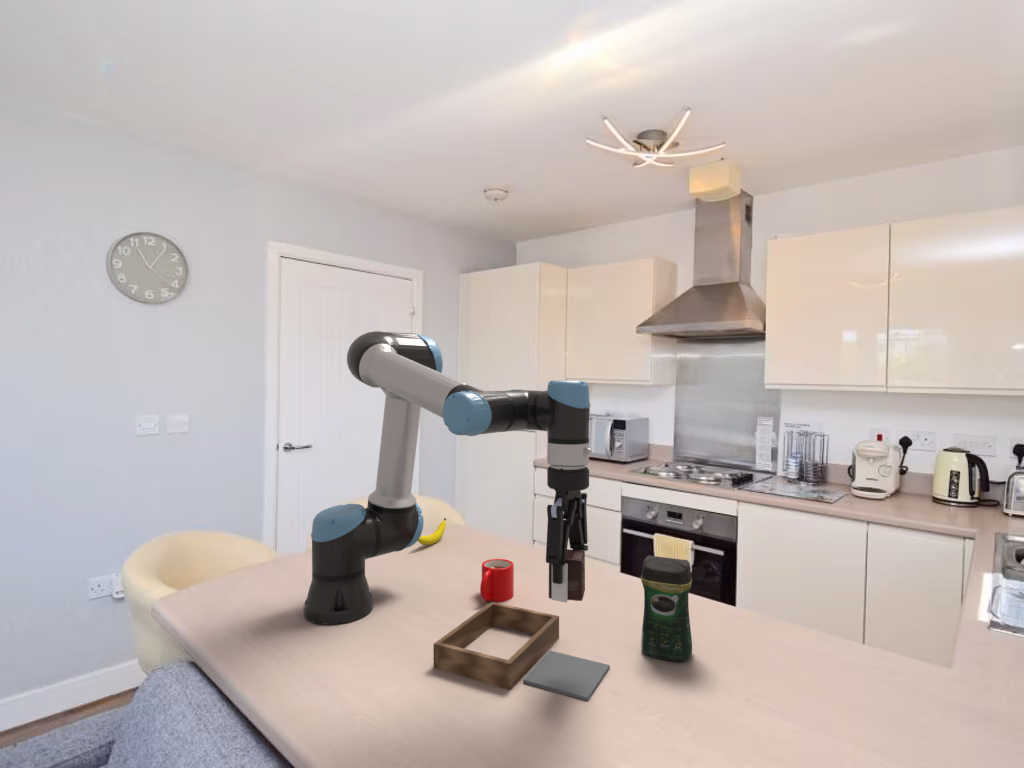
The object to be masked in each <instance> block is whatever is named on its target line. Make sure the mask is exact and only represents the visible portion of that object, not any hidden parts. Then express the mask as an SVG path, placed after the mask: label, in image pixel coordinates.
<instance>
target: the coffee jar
mask: <svg viewBox="0 0 1024 768" xmlns="http://www.w3.org/2000/svg"><path fill="white" fill-rule="evenodd" d="M692 577H693V576H692V570H691V564H690V561H689V560H688V559H679V558H671V557H665V556H655V555H647V556H646V557H645V559H644V560H643V563H642V568H641V576H640V579H641V584H642V588H643V591H644V592H643V593H644V598H643V599H644V603H643V604H644V605H643V616H642V617H643V618H642V628H641V637H640V638H641V640H640V642H641V643H640V645H641V646H640V648H641V651H642V652H643V653H644V654H645V655H647V656H648V657H652V658H656V659H658V660H665V661H666V660H667V661H672V662H680V663H682V662H685V661H687V660H689V659H690V658H691V656H692V654H693V638H692V629H691V622H690V611H689V609H690V608H689V607H690V606H689V593H690V590H691V588H692V584H693V578H692Z"/></svg>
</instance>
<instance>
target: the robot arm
mask: <svg viewBox="0 0 1024 768" xmlns="http://www.w3.org/2000/svg"><path fill="white" fill-rule="evenodd" d="M443 362H444V361H443V355H442V352H441V348H440V347H439V346H438V344H437V342H436V341H435V340H434V339H433V338H431V337H430V336H427V335H424V334H419V333H413V332H412V333H411V332H410V333H409V332H391V331H390V332H389V331H388V332H387V331H378V330H377V331H369V332H366V333H363V334H361V335H360V336H358V337H357V338H355V340H353V342H352V343H351V344H350V345H349V348H348V351H347V354H346V364H347V367H348V370H349V371H350V374H351V375H352V376H353V377H354V378H355V379H356V380H358V381H359V382H361V383H363V384H364V385H366V386H369V387H371V388H374V389H375V388H377V389H379V388H380V390H381V391H382V392H383V394H385V395H384V396H385V401H384V407H383V408H384V410H383V416H382V417H383V418H382V426H381V427H382V428H381V436H380V437H381V438H380V446H379V456H378V462H377V463H378V465H377V473H376V474H377V475H376V483H375V490H374V491H373V492H371V493H370V494H369V495H368V497H367V506H366V508H365V506H364V505H362V504H358V503H346V504H338V505H334V506H331V507H328V508H324V509H323V510H321V511H319V512H318V513H317V514H316V515H315V516H314V518H313V520H312V526H311V533H310V534H311V535H310V537H311V577H312V578H311V582H310V585H309V588H308V591H307V596H306V599H305V601H304V604H303V616H304V618H305V619H306V620H307V621H309V622H311V623H315V624H320V625H337V624H340V625H341V624H344V623H349V622H354V621H356V620H360V619H362V618H363V617H366V616H367V615H369V614H370V613H371V612H372V611H373V608H374V607H373V606H374V603H373V602H374V600H373V599H374V598H373V594H372V592H371V591H370V587H369V582H368V579H367V577H366V560H368V559H371V558H375V557H379V556H382V555H383V556H384V555H386V554H391V553H393V552H394V553H395V552H396V553H397V552H401V551H403V550H405V549H407V548H411V547H412V546H413V545H415V544H416V543H417V542H418V539H419V538H420V536H422V533H423V529H424V523H425V522H424V521H425V520H424V515H422V513H423V510H422V508H421V507H420V505H419V504H418V503H417V498H416V497H415V495H414V494H412V487H413V479H414V478H413V477H414V471H415V469H414V468H415V463H416V462H415V461H416V452H417V443H418V436H419V427H420V418H421V411H422V409H424V410H426V411H428V412H430V413H432V414H434V415H436V416H438V417H440V418H441V419H442V420H443V423H444V426H446V427H447V428H448V431H449V433H452V434H453V435H456V436H466V437H475V436H478V435H479V436H480V435H486V434H487V435H488V434H495V433H504V432H505V433H506V432H515V431H516V432H517V431H525V430H526V431H540V432H541V431H542V432H547V435H546V436H547V443H546V444H547V445H546V447H547V448H546V451H547V452H546V454H547V455H546V463H547V464H548V465H549V466H548V468H547V469H546V470H547V471H546V473H547V477H546V478H547V479H546V481H547V484H546V485H547V487H548V488H549V489H551V490H554V491H555V493H554V500H553V504H547V507H546V511H547V512H546V513H547V529H546V530H547V532H546V549H545V563H546V564H549V563H551V564H552V599H551V600H552V601H556V602H562V603H567V602H568V601H569V600H568V564H566V563H565V561H566V553H567V549H568V545H569V548H570V550H584V551H585V552H587V551H588V550H589V545H588V542H589V540H588V521H587V520H588V516H587V512H588V511H587V503H588V502H587V501H588V500H587V498H588V494H587V492H581V491H584V490H587V489H589V487H590V468H589V467H588V465H590V464H589V463H590V455H592V449H591V448H590V414H591V413H590V411H591V410H590V408H591V402H590V389H589V384H588V383H587V382H586V381H584V380H549V381H548V384H547V389H546V390H528V389H520V388H519V389H510V390H509V389H508V390H482V389H479V388H476V387H474V386H472V385H469V384H468V383H465V382H464V381H461V380H458V379H456V378H453V377H451V376H449V375H447V374H444V373H443V367H444V365H443Z"/></svg>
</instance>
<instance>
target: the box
mask: <svg viewBox="0 0 1024 768" xmlns="http://www.w3.org/2000/svg"><path fill="white" fill-rule="evenodd" d="M585 554H586V551H584V550H573V549H568V548H567V553H566V561H565V563H566V564H568V601H575V602H582V601H583V599H584V596H585V591H586V564H585V563H586V555H585ZM548 598H549V599H550V600H552V564H551V563H548Z"/></svg>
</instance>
